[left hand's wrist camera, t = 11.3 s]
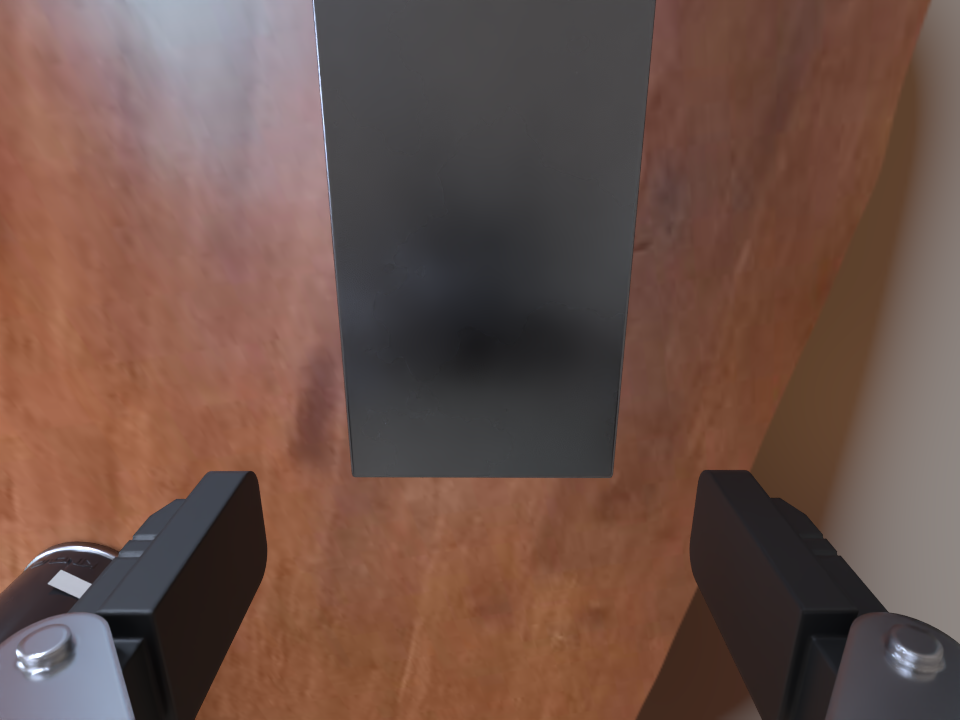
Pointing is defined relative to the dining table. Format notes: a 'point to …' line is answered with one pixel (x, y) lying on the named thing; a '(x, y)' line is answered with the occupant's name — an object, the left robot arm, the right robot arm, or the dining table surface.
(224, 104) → the dining table surface
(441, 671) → the dining table surface
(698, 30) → the dining table surface
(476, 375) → the bar
